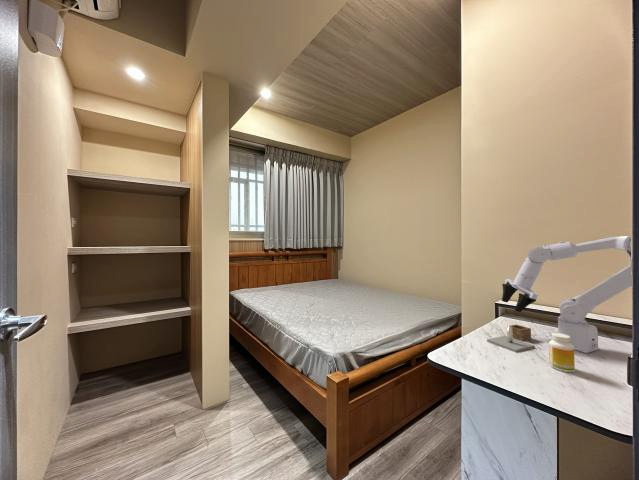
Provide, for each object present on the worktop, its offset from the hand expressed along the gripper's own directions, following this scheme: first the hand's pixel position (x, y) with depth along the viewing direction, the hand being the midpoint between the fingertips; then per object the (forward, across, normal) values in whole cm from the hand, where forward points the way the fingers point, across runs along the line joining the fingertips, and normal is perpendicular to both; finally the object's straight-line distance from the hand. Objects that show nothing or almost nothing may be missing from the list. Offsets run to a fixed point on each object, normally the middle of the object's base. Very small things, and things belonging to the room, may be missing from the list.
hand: (510, 306), depth 102 cm
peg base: (+10, +13, -5) cm, 17 cm away
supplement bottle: (+5, +29, -3) cm, 30 cm away
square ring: (+10, +6, +4) cm, 12 cm away
